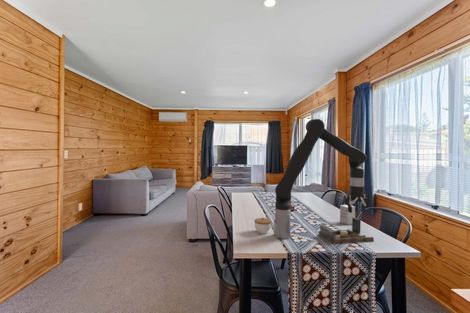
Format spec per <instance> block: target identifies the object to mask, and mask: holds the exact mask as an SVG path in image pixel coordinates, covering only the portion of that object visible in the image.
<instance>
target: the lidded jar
mask: <svg viewBox="0 0 470 313" xmlns="http://www.w3.org/2000/svg"><path fill="white" fill-rule="evenodd" d="M271 226H272V220H271V219H269V218H267V217H266V218H264V217H258V218H255V219H254V228H255V230H256V231H257V233H258V234H262V235H265V234H268V232H269V231H270V229H271V228H272V227H271Z"/></svg>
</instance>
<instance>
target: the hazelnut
mask: <svg viewBox="0 0 470 313" xmlns="http://www.w3.org/2000/svg"><path fill="white" fill-rule="evenodd" d="M340 238H348V232H347V231H340Z"/></svg>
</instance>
